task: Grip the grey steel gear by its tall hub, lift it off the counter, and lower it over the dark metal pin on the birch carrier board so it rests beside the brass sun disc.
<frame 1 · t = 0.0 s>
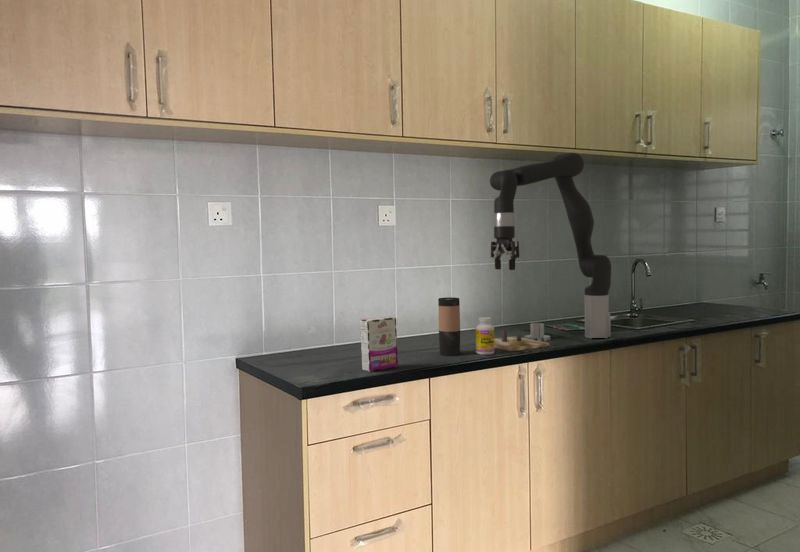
hand: (504, 269, 235), 29 cm above the table, fingers open, 8 cm apart
supplement bottle: (485, 354, 228), on the table
carrier board: (512, 344, 244), on the table
travel mug: (449, 354, 228), on the table
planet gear: (537, 339, 256), on the table
candy bar box: (379, 369, 205), on the table
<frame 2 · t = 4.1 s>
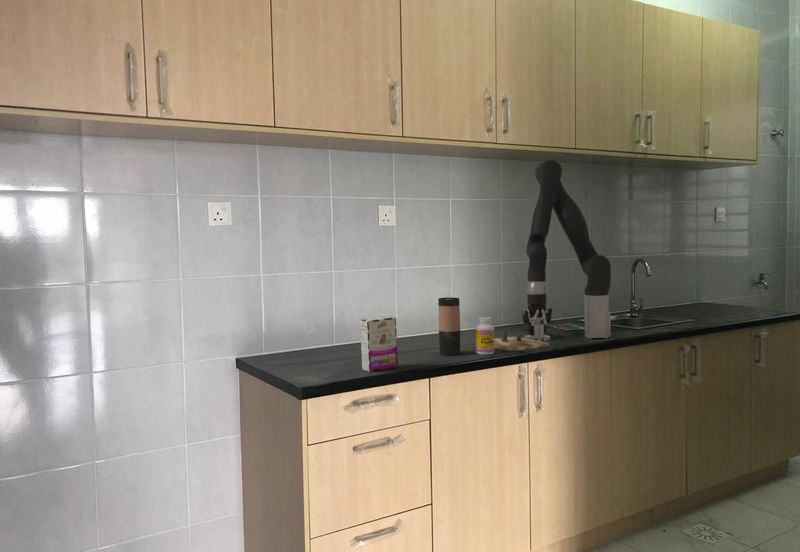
hand: (537, 334, 256), 2 cm above the table, fingers closed on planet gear, 5 cm apart
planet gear: (537, 339, 256), on the table, touching gripper
everything else where it was.
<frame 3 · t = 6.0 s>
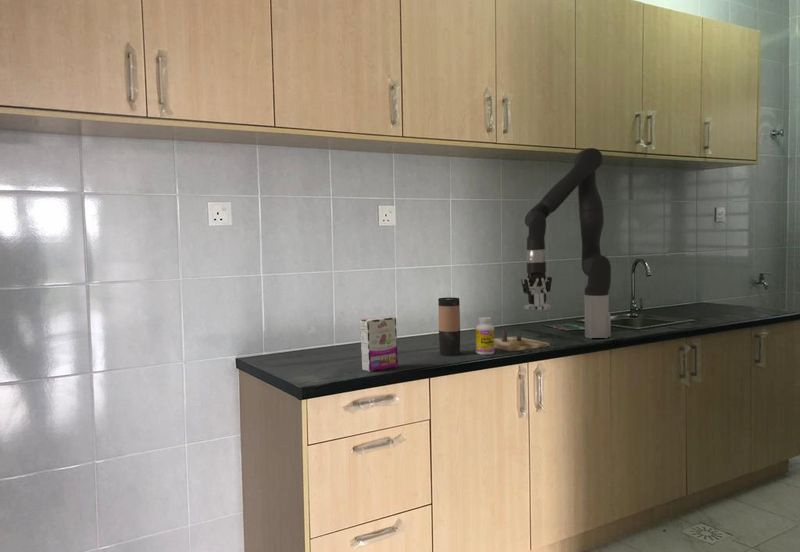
hand: (537, 303, 255), 14 cm above the table, fingers closed on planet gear, 5 cm apart
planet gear: (537, 308, 255), point 12 cm above the table, touching gripper
everything else where it was.
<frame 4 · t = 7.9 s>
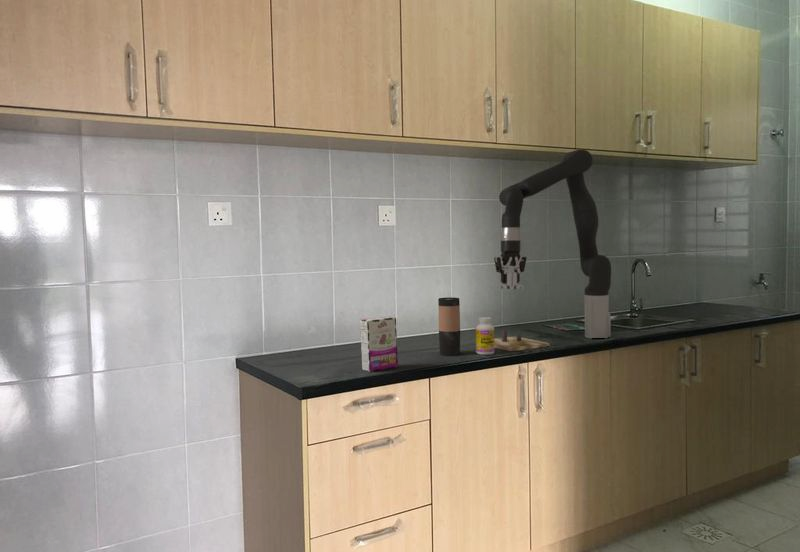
hand: (510, 283, 247), 23 cm above the table, fingers closed on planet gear, 5 cm apart
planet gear: (510, 288, 247), point 21 cm above the table, touching gripper
everything else where it was.
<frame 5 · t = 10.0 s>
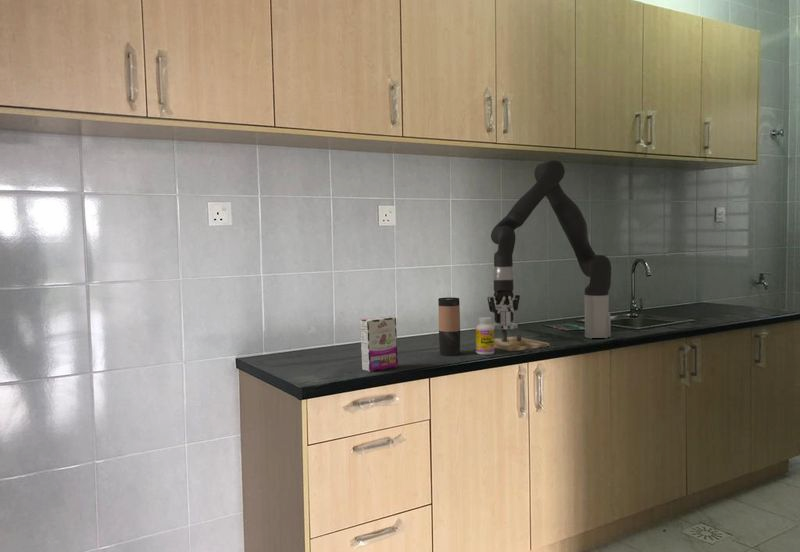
hand: (504, 322, 245), 9 cm above the table, fingers closed on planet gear, 5 cm apart
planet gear: (504, 327, 245), point 7 cm above the table, touching gripper
everything else where it was.
when the fingers open (4 cm above the table, at t = 11.9 s): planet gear stays where it is, resting on carrier board.
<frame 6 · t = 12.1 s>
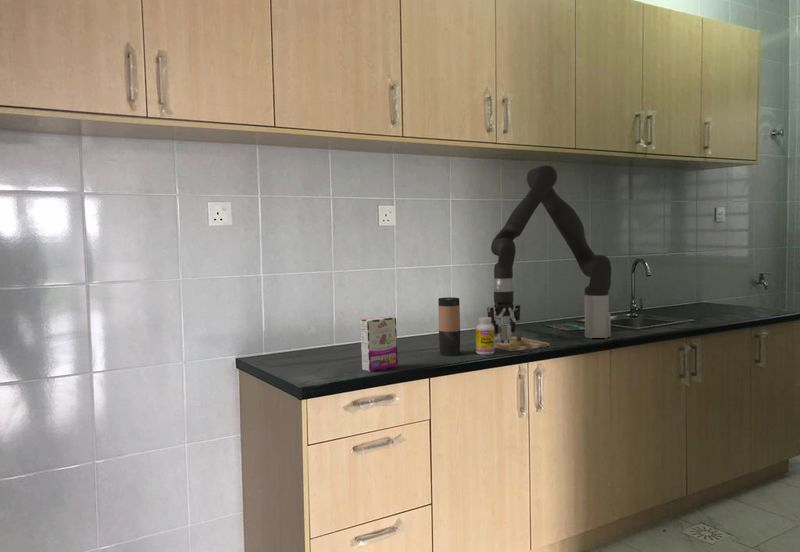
hand: (504, 332, 245), 4 cm above the table, fingers open, 7 cm apart
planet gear: (504, 341, 246), point 1 cm above the table, touching carrier board
everything else where it was.
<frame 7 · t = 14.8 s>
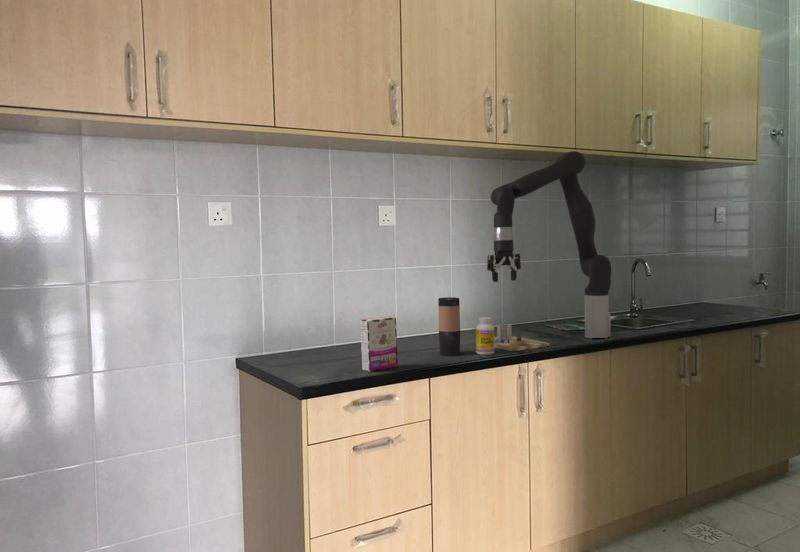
hand: (504, 281, 246), 24 cm above the table, fingers open, 8 cm apart
nothing on the table moved.
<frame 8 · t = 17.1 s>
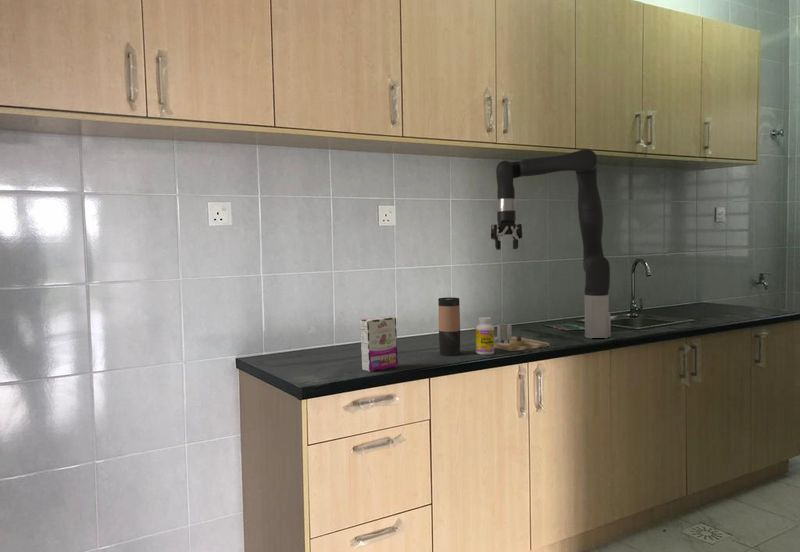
hand: (506, 249, 264), 36 cm above the table, fingers open, 8 cm apart
nothing on the table moved.
at the end: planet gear 0.1 cm from the target spot on the carrier board, point 1.2 cm above the carrier board's base; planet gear tilted 0°; the gripper is holding nothing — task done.
